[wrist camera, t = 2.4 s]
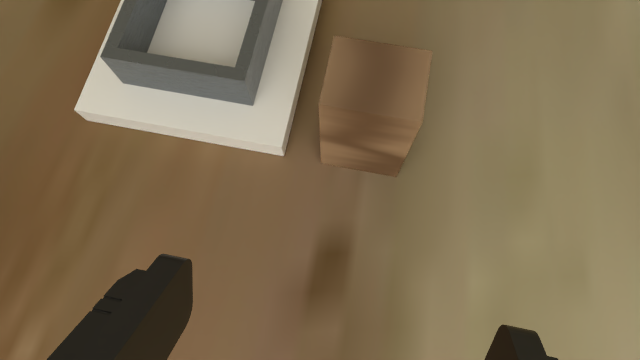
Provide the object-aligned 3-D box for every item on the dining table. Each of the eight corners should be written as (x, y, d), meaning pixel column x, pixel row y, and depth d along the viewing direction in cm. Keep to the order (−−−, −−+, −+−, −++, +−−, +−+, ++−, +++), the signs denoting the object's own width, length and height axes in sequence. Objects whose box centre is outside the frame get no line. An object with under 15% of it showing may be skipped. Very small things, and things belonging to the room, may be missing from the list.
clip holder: (324, -11, 32) (324, -62, 28) (284, 156, 28) (276, 126, 24) (151, -37, 33) (125, -90, 29) (86, 120, 29) (45, 85, 25)
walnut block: (404, 122, 29) (432, 50, 21) (396, 176, 27) (422, 121, 20) (332, 110, 29) (334, 35, 21) (321, 163, 28) (318, 104, 20)
